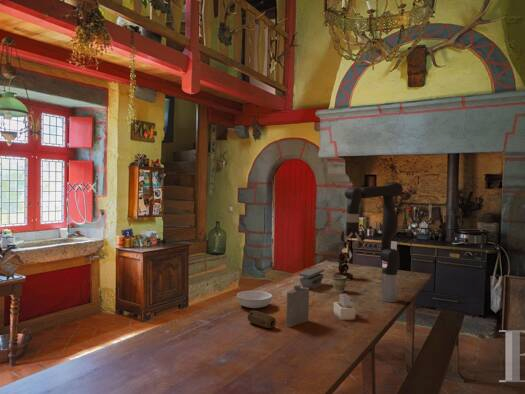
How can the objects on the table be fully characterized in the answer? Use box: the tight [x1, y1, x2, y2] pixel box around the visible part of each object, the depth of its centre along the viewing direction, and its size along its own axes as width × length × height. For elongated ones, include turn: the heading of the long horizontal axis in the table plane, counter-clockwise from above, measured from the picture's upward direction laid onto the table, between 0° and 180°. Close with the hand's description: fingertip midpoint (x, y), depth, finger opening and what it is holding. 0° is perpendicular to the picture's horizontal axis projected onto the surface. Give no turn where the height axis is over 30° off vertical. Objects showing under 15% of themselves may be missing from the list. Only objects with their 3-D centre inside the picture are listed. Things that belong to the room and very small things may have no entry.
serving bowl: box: [236, 290, 273, 309], centre depth 234 cm, size 21×21×7 cm
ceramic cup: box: [331, 274, 352, 294], centre depth 272 cm, size 13×10×10 cm
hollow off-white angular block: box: [332, 301, 357, 321], centre depth 221 cm, size 8×12×6 cm
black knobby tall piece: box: [333, 251, 354, 279], centre depth 313 cm, size 15×15×20 cm
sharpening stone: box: [298, 267, 325, 290], centre depth 284 cm, size 25×8×11 cm, turn 149°
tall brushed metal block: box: [338, 293, 351, 308], centre depth 221 cm, size 4×7×10 cm, turn 8°
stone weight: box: [247, 309, 277, 329], centre depth 202 cm, size 15×7×7 cm, turn 55°
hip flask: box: [285, 284, 310, 328], centre depth 207 cm, size 16×4×20 cm, turn 134°
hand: (352, 248), depth 239 cm, fingers open, 8 cm apart
